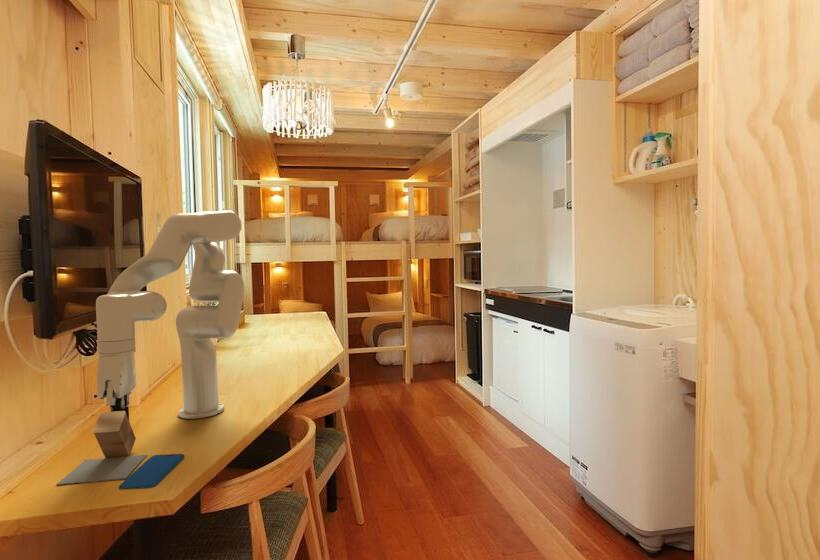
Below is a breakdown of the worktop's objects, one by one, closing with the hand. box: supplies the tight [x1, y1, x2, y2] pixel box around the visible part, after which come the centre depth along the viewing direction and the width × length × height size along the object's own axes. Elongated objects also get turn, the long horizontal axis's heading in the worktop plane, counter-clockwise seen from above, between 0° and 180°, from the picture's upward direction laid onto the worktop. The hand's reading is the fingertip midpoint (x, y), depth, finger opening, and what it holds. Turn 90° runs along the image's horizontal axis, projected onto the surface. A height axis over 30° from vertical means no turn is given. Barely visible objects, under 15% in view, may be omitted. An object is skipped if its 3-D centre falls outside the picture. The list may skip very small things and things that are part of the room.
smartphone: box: [118, 453, 185, 490], centre depth 104 cm, size 7×1×15 cm
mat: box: [56, 454, 148, 486], centre depth 105 cm, size 12×13×1 cm
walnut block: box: [92, 411, 137, 458], centre depth 111 cm, size 5×5×10 cm
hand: (120, 424), depth 114 cm, fingers closed
